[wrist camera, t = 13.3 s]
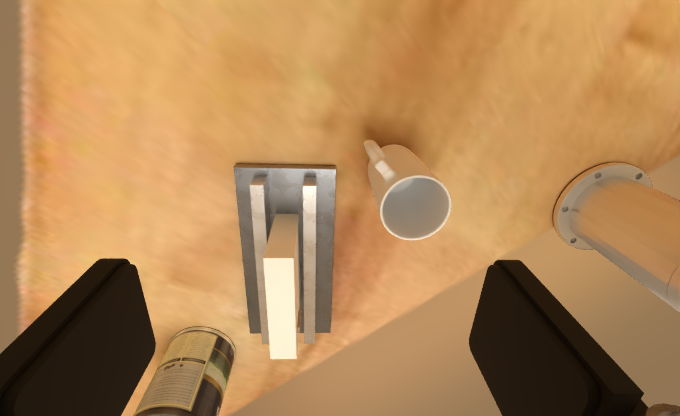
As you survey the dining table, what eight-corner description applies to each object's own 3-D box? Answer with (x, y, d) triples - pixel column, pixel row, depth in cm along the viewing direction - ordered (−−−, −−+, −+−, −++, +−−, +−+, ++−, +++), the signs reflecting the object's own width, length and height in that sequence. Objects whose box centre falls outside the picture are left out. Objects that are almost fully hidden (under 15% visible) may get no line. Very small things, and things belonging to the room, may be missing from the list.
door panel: (301, 213, 43) (296, 258, 34) (303, 301, 49) (299, 358, 40) (275, 213, 43) (263, 258, 34) (279, 301, 49) (270, 359, 40)
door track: (335, 165, 43) (337, 178, 38) (330, 325, 54) (330, 348, 50) (236, 163, 42) (227, 176, 38) (251, 326, 53) (246, 349, 49)
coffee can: (248, 344, 55) (226, 435, 42) (215, 381, 58) (185, 476, 45) (189, 315, 51) (146, 403, 39) (157, 355, 55) (107, 450, 42)
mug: (429, 171, 44) (464, 212, 33) (386, 202, 45) (407, 252, 34) (381, 108, 40) (404, 132, 29) (337, 145, 42) (343, 180, 31)
